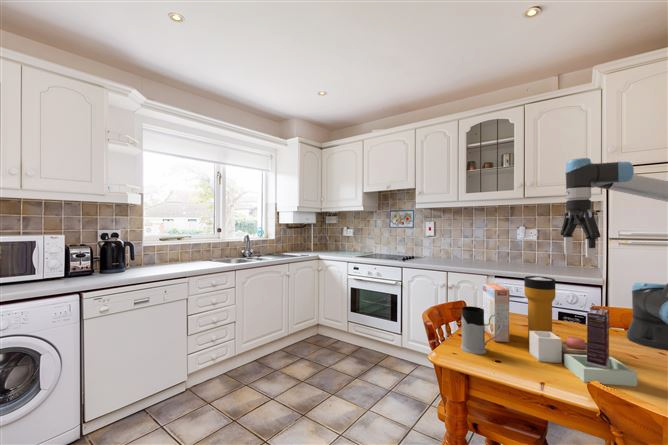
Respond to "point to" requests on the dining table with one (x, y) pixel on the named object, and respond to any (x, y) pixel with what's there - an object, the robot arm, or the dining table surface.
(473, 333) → the glass holder
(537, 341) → the open box
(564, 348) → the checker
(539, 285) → the flashlight
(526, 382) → the dining table surface
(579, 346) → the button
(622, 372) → the trough
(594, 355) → the supplement box
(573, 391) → the dining table surface
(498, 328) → the cracker box
